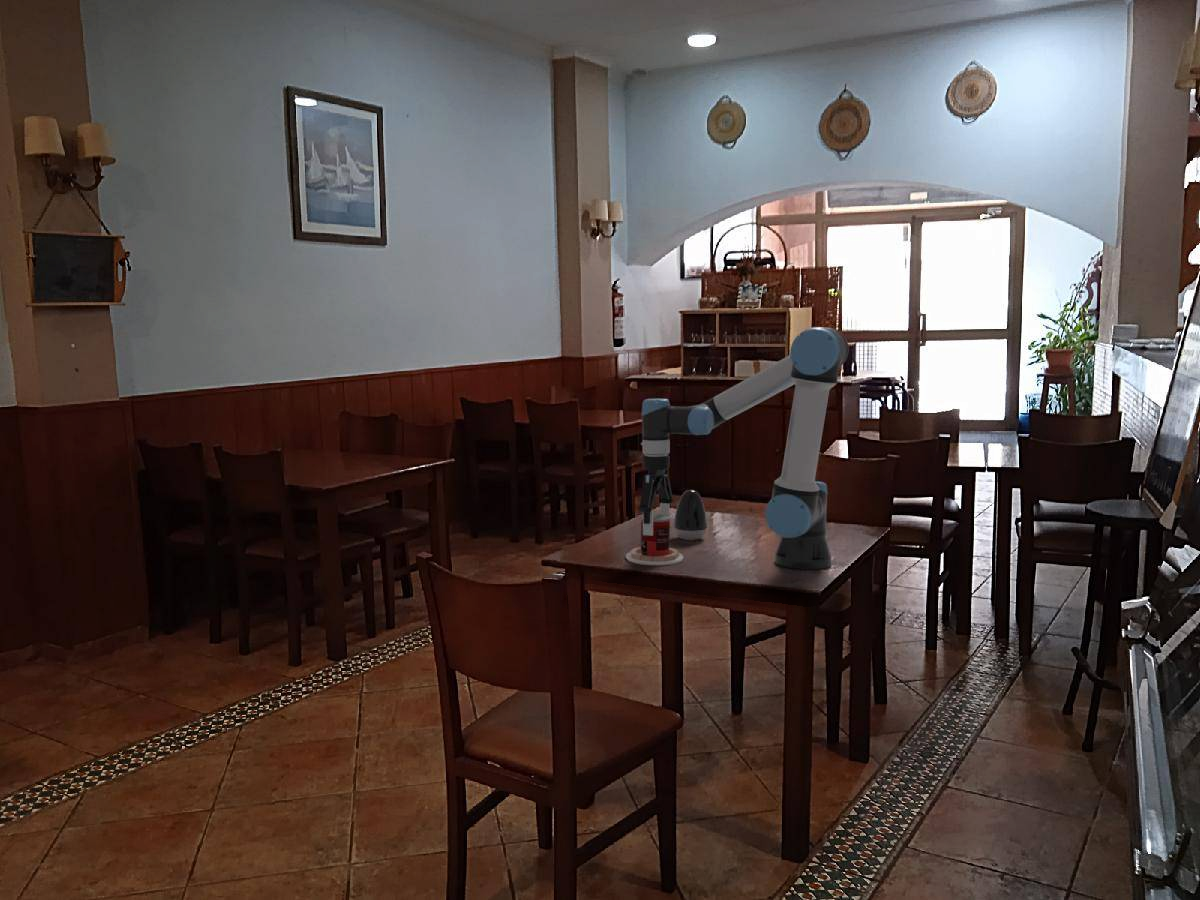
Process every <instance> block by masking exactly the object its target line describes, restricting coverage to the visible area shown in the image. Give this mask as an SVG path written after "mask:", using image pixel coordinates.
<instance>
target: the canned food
mask: <svg viewBox="0 0 1200 900" xmlns="http://www.w3.org/2000/svg"><path fill="white" fill-rule="evenodd" d="M670 517H671V516H670ZM670 517H668V516H665V515H660V514H653V536H650V535H643V515H642V516H641V518H640V547H641V555H647V556H665V555H669V548H670V532H671V531H670V529H671V526H670V525H671V522H670V521H671V520H670V519H671V518H670Z"/></svg>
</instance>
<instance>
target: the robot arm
mask: <svg viewBox="0 0 1200 900" xmlns="http://www.w3.org/2000/svg"><path fill="white" fill-rule="evenodd" d="M849 350H850V348H849V343H848V340H847V338H846V336H845V335H844V334H843V333H842V332H841V331H839V330H838V329H836V328H833V327H822V326H813V327H809V328H805V330H803V331H801V332H800V333H798V335H797V336H795V338H794V340H793V341H792V343H791V346H790V349H789V355H788V356H785V357H784V358H782V359H780V360H778V361H776V362H775V363H773V364H771V365H768V367H765V368H764V369H762V370H760V371H758V372H757V373H755V374H753V375H752V376H749V377H747V378H746V379H744V380H742V381H741V382H739V383H736V384H734V385H733V386H732V387H730V388H728V389H726V390H724V391H722V392H721V393H719V394H717V395H715V396H713V397H712V398H711V397H710V398H709V399H708V400H706V401H704V402H702V403H700V404H695V405H691V406H690V405H689V406H673V405H671V403H670V401H669V399H667V398H647V399H644V400H643V402H642V405H641V406H642V408H641V416H640V417H641V427H642V428H641V432H642V433H641V434H642V437H641V439H642V442H640V445H641V446H642V454H643V456H642V459H641V460H642V461H641V462H642V463H641V464H642V469H643V470H647V471H648V472H647V474H643V476H642V478H643V482H642V489H641V494H640V501H639V509H638V511H639V512H641V513H642V516H643V535H650V536H653V515H654V512H653V511H652V510H653V505H654V501H655V498H656V493H657V494H658V496H659V499H660V503H659V515H665V516H668V517H671V516H670V515H671V514H670V513H671V512H670V508H671V506H670V505H671V504H673V502H674V500H673V492H672V487H671V481H670V477H669V469H670V465H671V463H670V461H671V460H670V459H671V458H670V456H669V454H670V453H671V450H670V449H671V448H670V447H671V446H670V445H671V444H670V443H671V442H670V441H671V440H670V439H671V438H670V435H674V434H676V435H678V434H679V435H693V436H700V435H701V436H702V435H703V436H704V435H709V434H711V432H712V431H713V430H714V429H716V428H717V427H719V425H721V424H723V423H724V422H726V421H728V420H730V419H732V418H733V417H735V416H738V415H740V414H741V413H743V412H745V411H747V410H749V409H751V408H752V407H754V406H757V405H759V404H760V403H762V402H764V401H766V400H768V399H769V398H771V397H774V396H775V395H777V394H779V393H781V392H782V391H783V392H784V391H785V390H787V389H788V388H791V387H792V386H794V385H795V386H794V391H793V392H794V393H793V399H792V405H791V412H790V419H789V424H788V431H787V438H786V443H785V449H784V457H783V462H782V468H781V469H782V470H781V475H780V476H779V477H778V478H777V479H775V480H774V483H773V488H772V494H771V499H770V500H768V503H767V505H766V508H765V512H764V513H765V514H764V516H765V517H764V518H765V521H766V524H767V526H768V527H769V528H770V530H771V531H772V532H773V533H774V534H776V535H777V536H779V537H780V539H779V542H778V545H777V548H776V551H775V553H774V563H776V564H777V565H778V566H782V567H784V568H788V569H796V570H822V569H826V568H829V567H831V565H832V554H831V552H830V551H831V550H830V549H829V548H830V547H829V544H828V541H827V538H826V533H827V532H826V531H827V529H826V528H827V510H828V509H827V506H828V503H827V502H828V493H829V492H828V486H827V484H826V483H825V482H823V481H816V474H817V468H818V463H819V457H820V450H821V444H822V437H823V432H824V426H825V425H824V424H825V420H826V419H825V418H826V414H827V413H826V412H827V407H828V403H829V402H828V400H829V394H830V390H831V389H832V388H834V387H835V386H837V384H838V378H839V372H840V368H842V366H843V365H844V363H846V360H847V359H848V355H849Z"/></svg>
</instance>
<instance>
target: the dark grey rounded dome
mask: <svg viewBox="0 0 1200 900" xmlns="http://www.w3.org/2000/svg"><path fill="white" fill-rule="evenodd" d="M673 528H674V531H675V534H676V535H677V536H678V537H679V539H681V540H685V541H697V539H698V540H700V539H701V538H703V536H704V535H705V534H706V530H707V528H708V520H707V514H706V509H705V505H704V502H703V499H702V497H701V495H700V493H699V492H698V491H697V490H694V489H687V490H685V491H684V492H683V493H682V495H681V496H680V497H679V501H678V503H677V507H676V511H675V513H674V519H673Z"/></svg>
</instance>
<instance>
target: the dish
mask: <svg viewBox="0 0 1200 900" xmlns="http://www.w3.org/2000/svg"><path fill="white" fill-rule="evenodd" d="M625 559H627V560H626V561H628V562H630V563H633V564H636V565H641V566H642V565H643V566H656V567H657V566H658V567H659V566H670V565H677V564H679V563H682V562H683V561H684V555H683V554H682V553H680V552H679V551H678V549H676V548H671V547H669V555H665V556H647V555H641V546H640V547H634V548H633V549H631V550H630V551H629V552H627V553H626V554H625Z"/></svg>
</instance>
